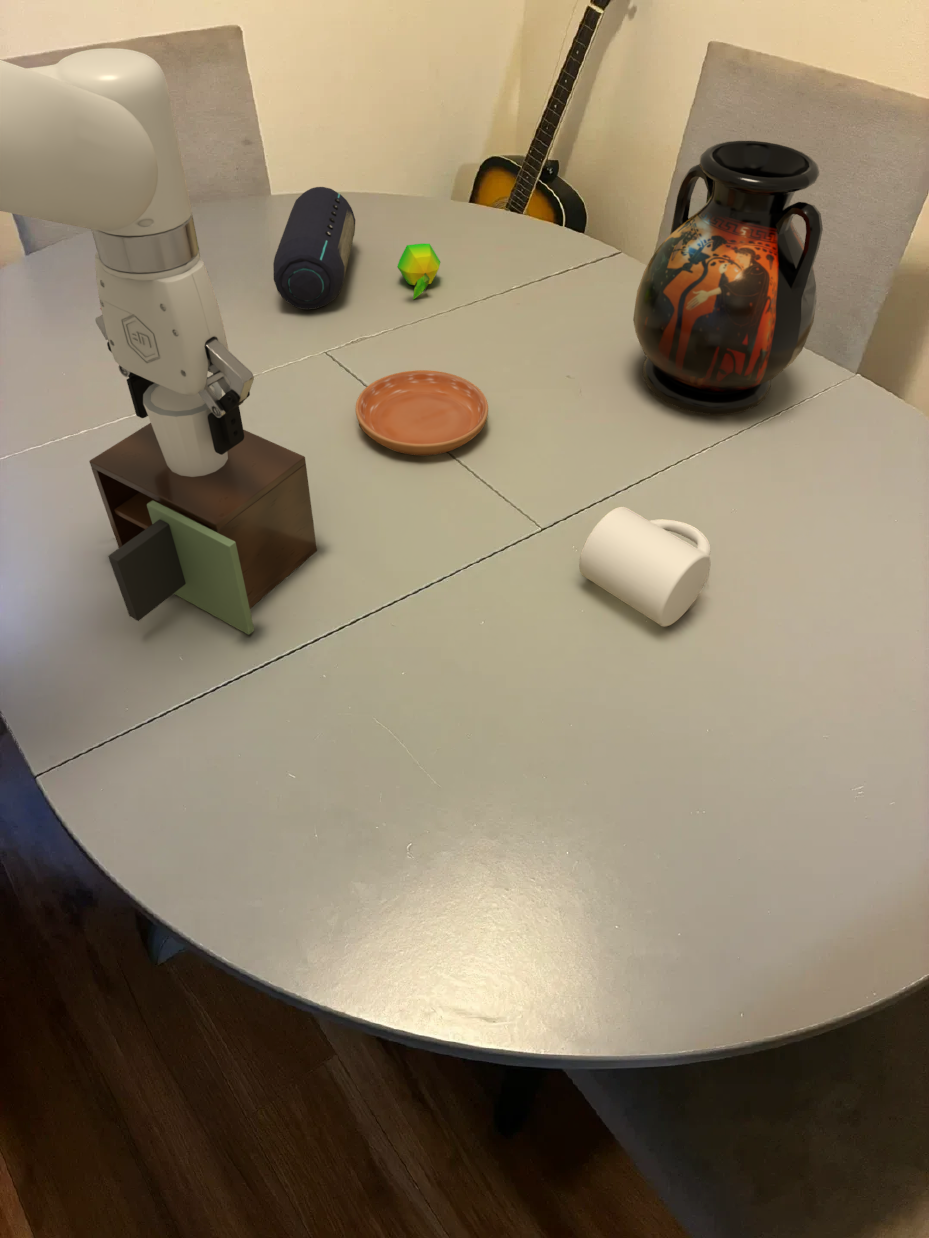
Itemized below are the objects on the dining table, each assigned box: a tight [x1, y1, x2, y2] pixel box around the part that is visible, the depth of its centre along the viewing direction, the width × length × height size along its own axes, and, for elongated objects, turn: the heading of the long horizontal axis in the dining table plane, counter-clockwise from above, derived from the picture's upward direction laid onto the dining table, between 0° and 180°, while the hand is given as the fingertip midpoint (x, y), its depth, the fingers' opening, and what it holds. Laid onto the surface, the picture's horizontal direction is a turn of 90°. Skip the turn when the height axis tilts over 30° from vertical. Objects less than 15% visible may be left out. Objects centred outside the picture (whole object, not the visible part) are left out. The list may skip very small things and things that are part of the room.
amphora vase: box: [632, 140, 824, 416], centre depth 107 cm, size 22×22×28 cm
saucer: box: [354, 369, 489, 457], centre depth 108 cm, size 16×16×3 cm
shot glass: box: [143, 376, 228, 477], centre depth 81 cm, size 7×7×7 cm
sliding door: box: [107, 500, 255, 636], centre depth 80 cm, size 7×10×11 cm
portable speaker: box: [272, 186, 356, 310], centre depth 131 cm, size 25×10×10 cm, turn 179°
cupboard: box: [89, 422, 318, 609], centre depth 87 cm, size 12×16×12 cm
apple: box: [396, 243, 441, 301], centre depth 132 cm, size 7×6×9 cm
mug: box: [578, 506, 712, 627], centre depth 87 cm, size 12×10×8 cm
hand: (190, 428), depth 81 cm, fingers open, 9 cm apart
